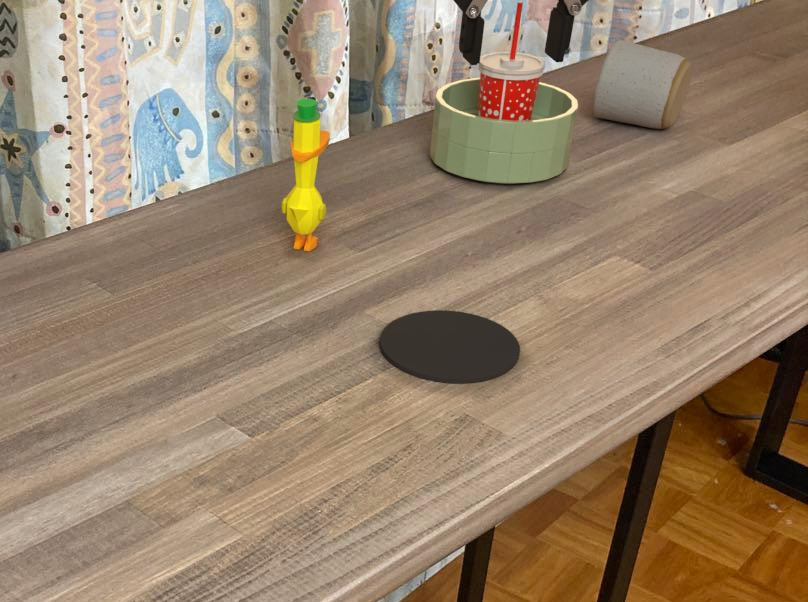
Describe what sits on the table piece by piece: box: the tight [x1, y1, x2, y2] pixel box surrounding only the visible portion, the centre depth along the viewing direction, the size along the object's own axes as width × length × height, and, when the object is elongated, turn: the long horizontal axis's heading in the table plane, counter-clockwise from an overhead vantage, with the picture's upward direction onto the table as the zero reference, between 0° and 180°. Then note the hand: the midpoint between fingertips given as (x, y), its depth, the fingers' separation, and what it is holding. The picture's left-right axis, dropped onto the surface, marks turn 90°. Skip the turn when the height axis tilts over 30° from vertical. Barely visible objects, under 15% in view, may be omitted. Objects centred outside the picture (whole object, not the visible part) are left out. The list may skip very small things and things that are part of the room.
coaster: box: [379, 309, 521, 384], centre depth 81 cm, size 10×10×1 cm
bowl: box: [429, 77, 579, 185], centre depth 108 cm, size 13×13×6 cm
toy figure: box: [281, 98, 331, 252], centre depth 91 cm, size 7×4×12 cm, turn 159°
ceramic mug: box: [592, 39, 693, 130], centre depth 118 cm, size 11×8×8 cm
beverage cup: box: [477, 1, 546, 121], centre depth 105 cm, size 6×6×14 cm
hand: (512, 58), depth 104 cm, fingers open, 7 cm apart
